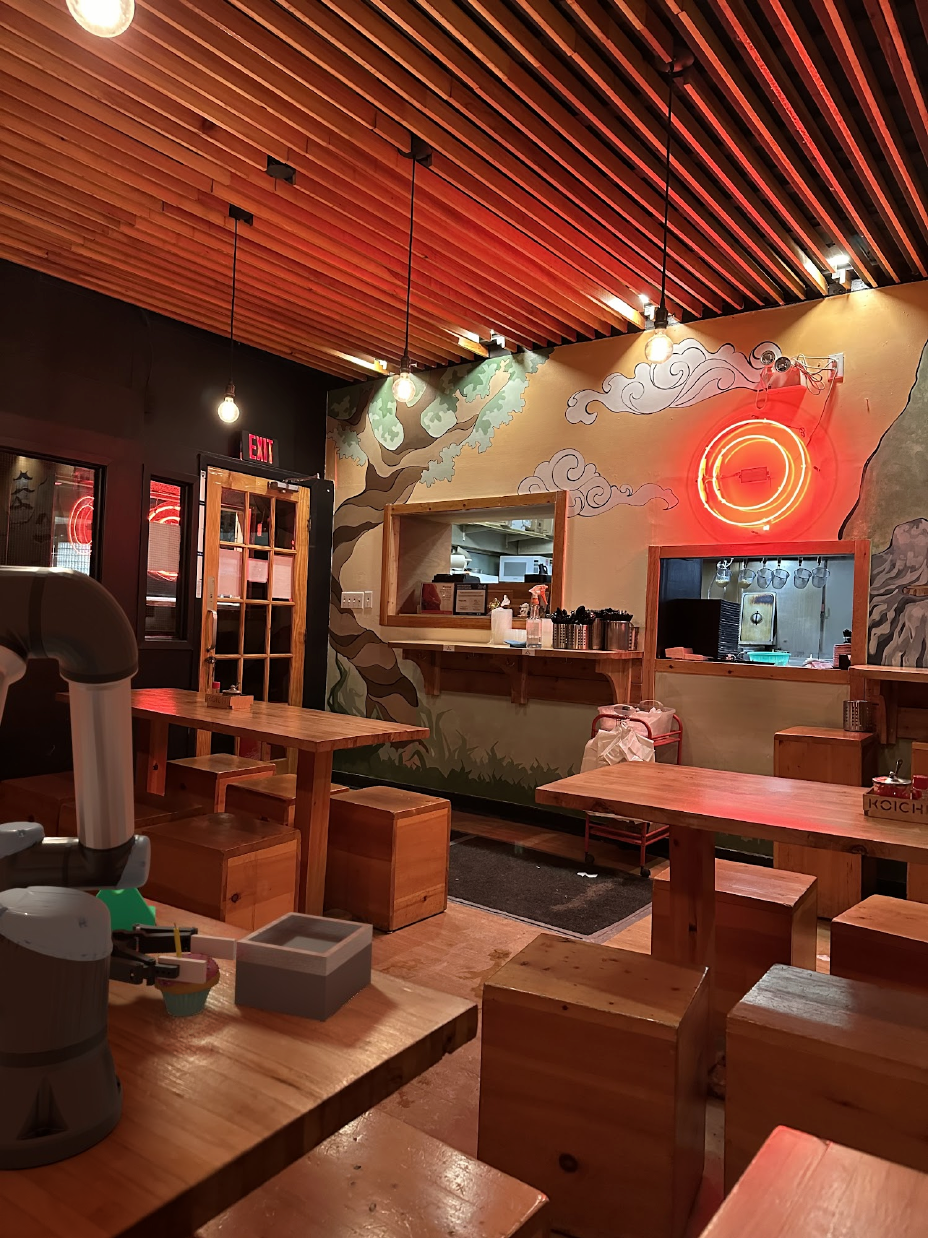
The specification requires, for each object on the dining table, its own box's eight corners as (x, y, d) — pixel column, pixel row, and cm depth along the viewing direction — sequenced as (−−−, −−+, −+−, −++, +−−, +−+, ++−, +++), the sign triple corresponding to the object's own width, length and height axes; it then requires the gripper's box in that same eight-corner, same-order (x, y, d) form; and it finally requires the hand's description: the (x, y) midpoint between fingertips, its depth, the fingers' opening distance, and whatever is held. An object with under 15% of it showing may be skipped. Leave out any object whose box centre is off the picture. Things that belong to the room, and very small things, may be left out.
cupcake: (168, 1029, 109) (171, 935, 109) (141, 1006, 115) (145, 917, 116) (229, 1011, 115) (233, 921, 115) (201, 990, 121) (205, 905, 121)
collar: (326, 976, 113) (326, 957, 113) (236, 960, 117) (236, 941, 117) (372, 942, 126) (372, 924, 126) (289, 928, 130) (290, 912, 131)
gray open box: (324, 1022, 112) (326, 976, 113) (234, 1003, 117) (236, 960, 117) (370, 982, 126) (372, 942, 126) (288, 967, 130) (289, 928, 130)
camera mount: (154, 920, 150) (156, 862, 150) (154, 935, 143) (156, 873, 143) (80, 926, 146) (82, 866, 146) (76, 941, 139) (79, 878, 139)
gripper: (113, 945, 129) (253, 961, 124) (16, 1000, 109) (178, 1022, 104) (115, 895, 129) (255, 909, 124) (18, 941, 109) (181, 960, 104)
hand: (220, 960), depth 114 cm, fingers closed on cupcake, 8 cm apart
